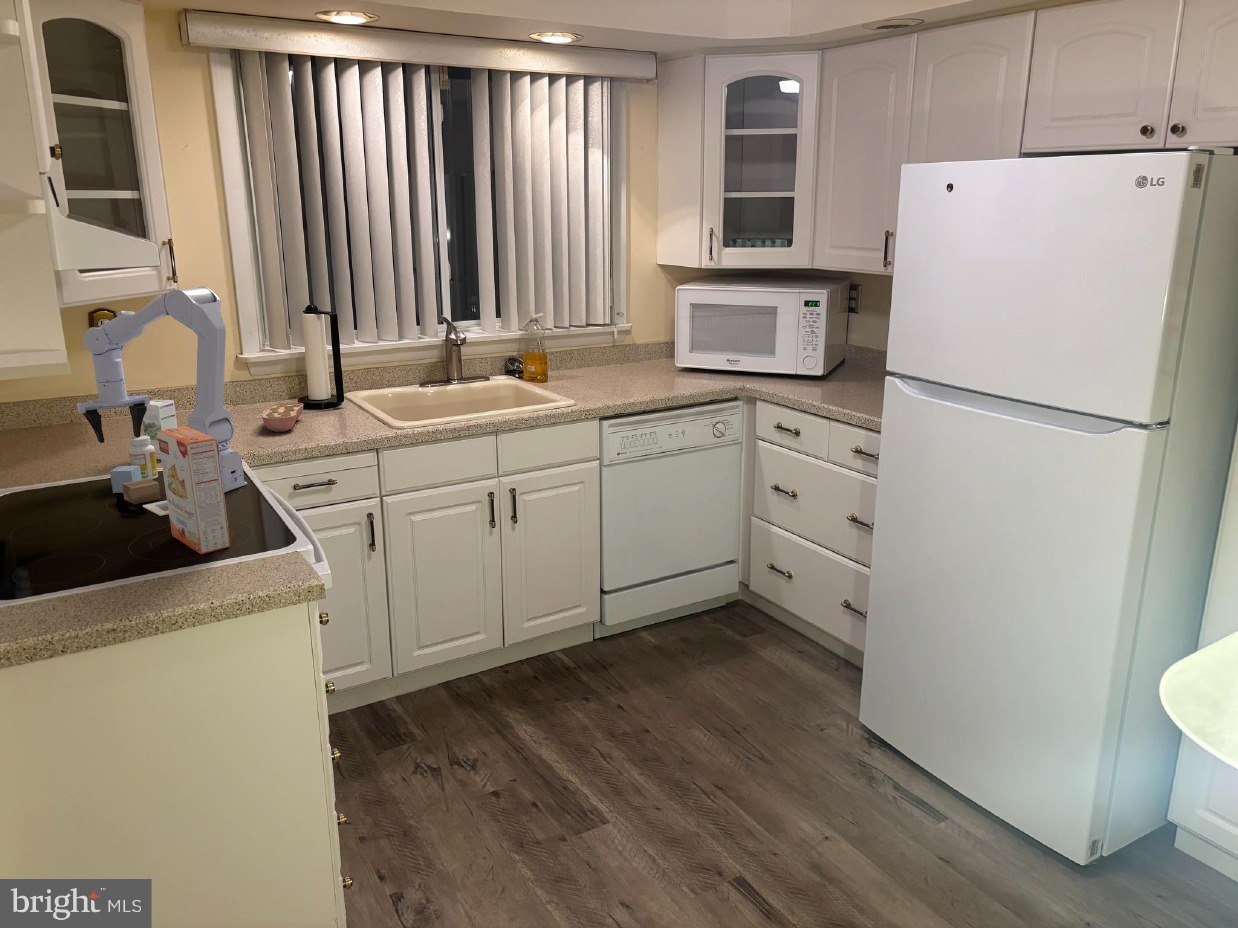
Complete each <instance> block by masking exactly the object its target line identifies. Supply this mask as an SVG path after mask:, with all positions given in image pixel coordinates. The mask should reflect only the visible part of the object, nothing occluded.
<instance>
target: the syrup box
mask: <svg viewBox="0 0 1238 928" xmlns="http://www.w3.org/2000/svg"><path fill="white" fill-rule="evenodd" d="M149 400H150V399H149ZM145 406H147V411H146V413H145V415H144V418H143V421H142V427H143V434H144V435H143V436H149V437H150V443H149V444H150V445H152V446H153V447H154V449H155V455H156V461H161V455H160V448H159V441H158V435H157V432H158V431H161V430H166V429H174V428H178V422H177V416H176V415H177V414H176V413H177V412H176V407H175V401H174V400H170V399H169V400H168V399H166V400H165V399H151V400H150V404H146V405H145Z"/></svg>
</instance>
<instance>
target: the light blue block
mask: <svg viewBox="0 0 1238 928" xmlns="http://www.w3.org/2000/svg"><path fill="white" fill-rule="evenodd" d="M109 474H110V481H111V487H112V488H111V489H112V494H115V493H116V494H118V493H121V494H124V493H123V487H122V483H127V482H133V481H138V480H142V478H141V471H140V465H139V466H131V465H118V466H117V467H115V468H113V469H111V470H110V471H109Z"/></svg>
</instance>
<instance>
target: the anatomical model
mask: <svg viewBox="0 0 1238 928" xmlns="http://www.w3.org/2000/svg"><path fill="white" fill-rule="evenodd" d="M262 411H263V412H262V413H261V418H262V422H263V424H264V425H265V427H266V428H267V429H268V430H270V431H272V432H274V433H285V432H288V431H290V429H292V428H293V427H294V426H295V424H296V420H298V419H299V418H300V417H301V415H302V413H303V411H304V403H302V402H291V401H289V402H281V403H279V402H278V403H275V404H272V405H270V406H268V407H266V408H265V409H264V410H262Z"/></svg>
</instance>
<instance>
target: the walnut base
mask: <svg viewBox="0 0 1238 928" xmlns="http://www.w3.org/2000/svg"><path fill="white" fill-rule="evenodd" d="M122 487H123V493H122V494H123V498H124V500H125V501H127V502H128V503H131V504H132V505H138V504H142V503H146V502H152V501H157V500H161V498H162V497H161V490H160V483H159V482H158V481H155V480H154V479H149V478H148V479H143V480H138V481H133V482H127V483H122Z"/></svg>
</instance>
